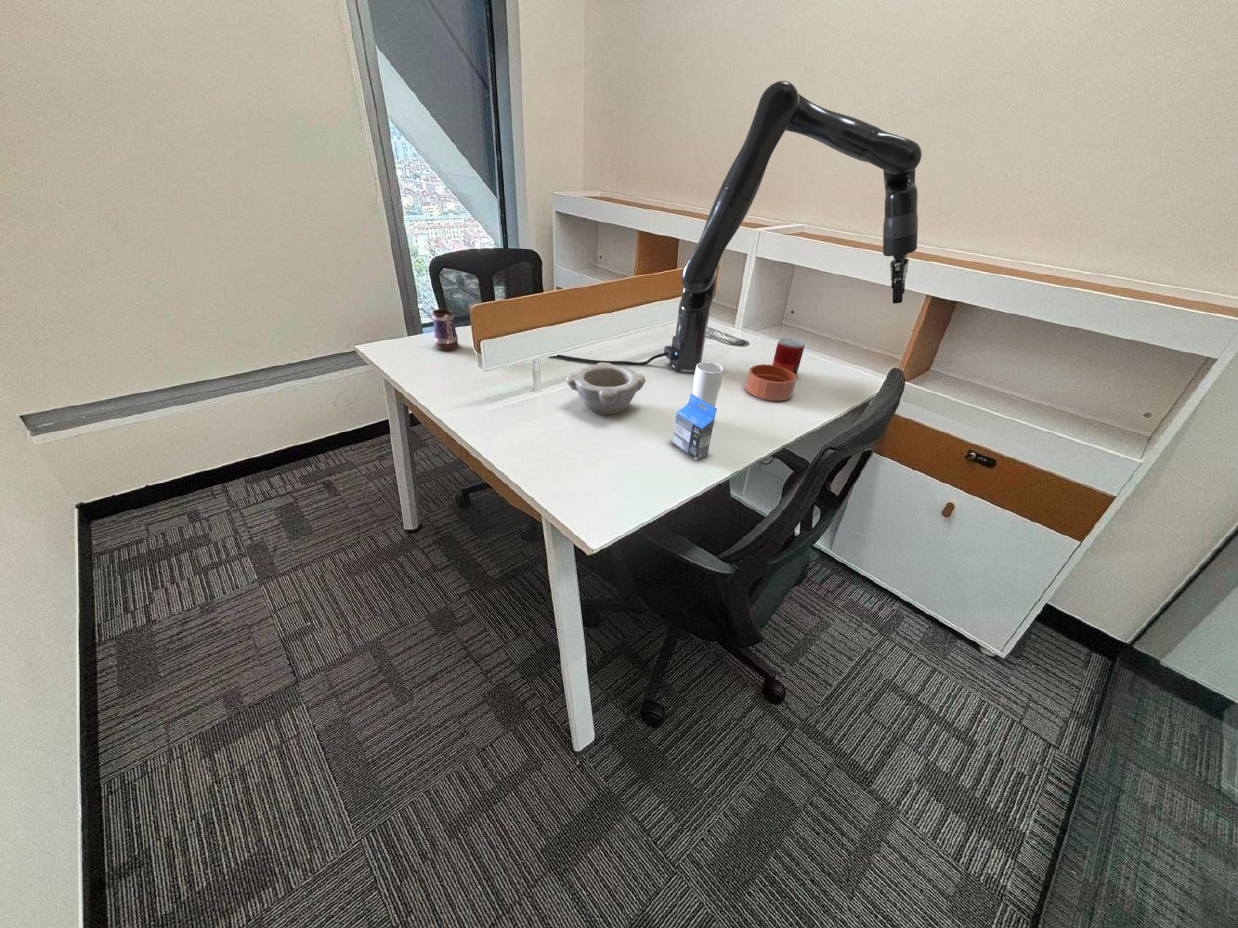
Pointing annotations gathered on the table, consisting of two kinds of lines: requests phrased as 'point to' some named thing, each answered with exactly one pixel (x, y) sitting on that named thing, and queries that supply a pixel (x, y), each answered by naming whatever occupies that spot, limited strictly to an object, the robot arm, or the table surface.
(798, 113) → the robot arm
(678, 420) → the blue product box
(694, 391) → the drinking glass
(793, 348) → the canned food
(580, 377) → the mortar
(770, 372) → the bowl
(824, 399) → the table surface
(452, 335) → the mug
